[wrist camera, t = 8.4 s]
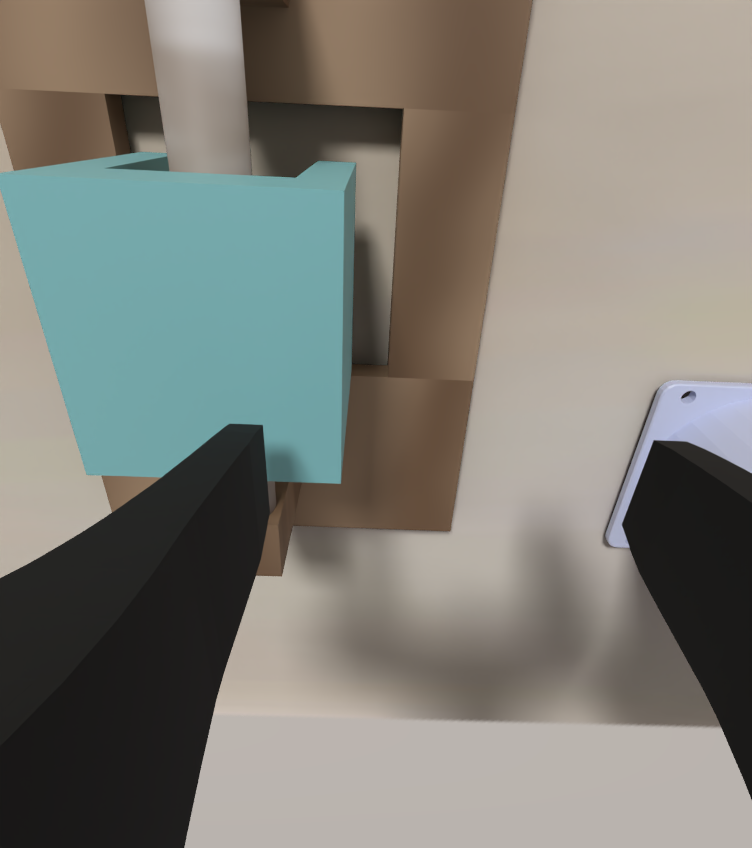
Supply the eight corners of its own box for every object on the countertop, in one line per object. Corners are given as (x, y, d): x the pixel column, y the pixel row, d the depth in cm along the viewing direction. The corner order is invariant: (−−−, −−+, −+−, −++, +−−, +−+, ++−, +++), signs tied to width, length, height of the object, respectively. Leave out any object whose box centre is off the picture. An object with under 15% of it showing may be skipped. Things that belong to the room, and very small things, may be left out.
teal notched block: (355, 162, 14) (344, 190, 8) (351, 370, 17) (341, 483, 11) (141, 152, 13) (-4, 174, 8) (176, 363, 16) (86, 474, 11)
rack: (562, -263, 11) (747, -644, 6) (447, 515, 22) (470, 647, 17) (-92, -303, 11) (-585, -743, 5) (124, 503, 22) (38, 633, 17)
